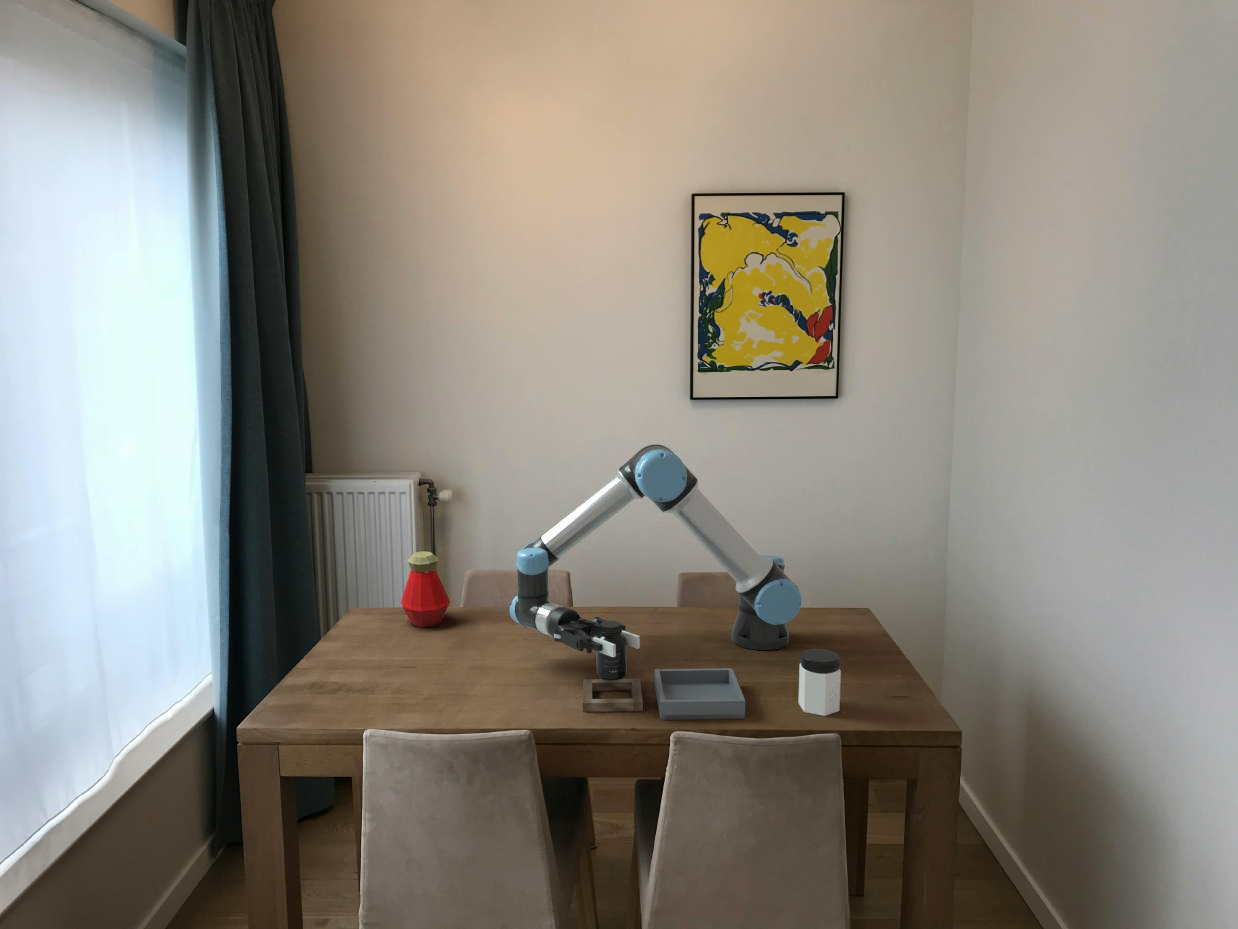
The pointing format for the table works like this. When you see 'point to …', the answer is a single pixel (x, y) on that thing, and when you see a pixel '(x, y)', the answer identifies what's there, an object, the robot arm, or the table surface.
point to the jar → (819, 682)
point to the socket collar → (612, 704)
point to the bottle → (424, 592)
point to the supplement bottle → (616, 665)
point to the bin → (698, 694)
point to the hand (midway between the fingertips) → (626, 646)
